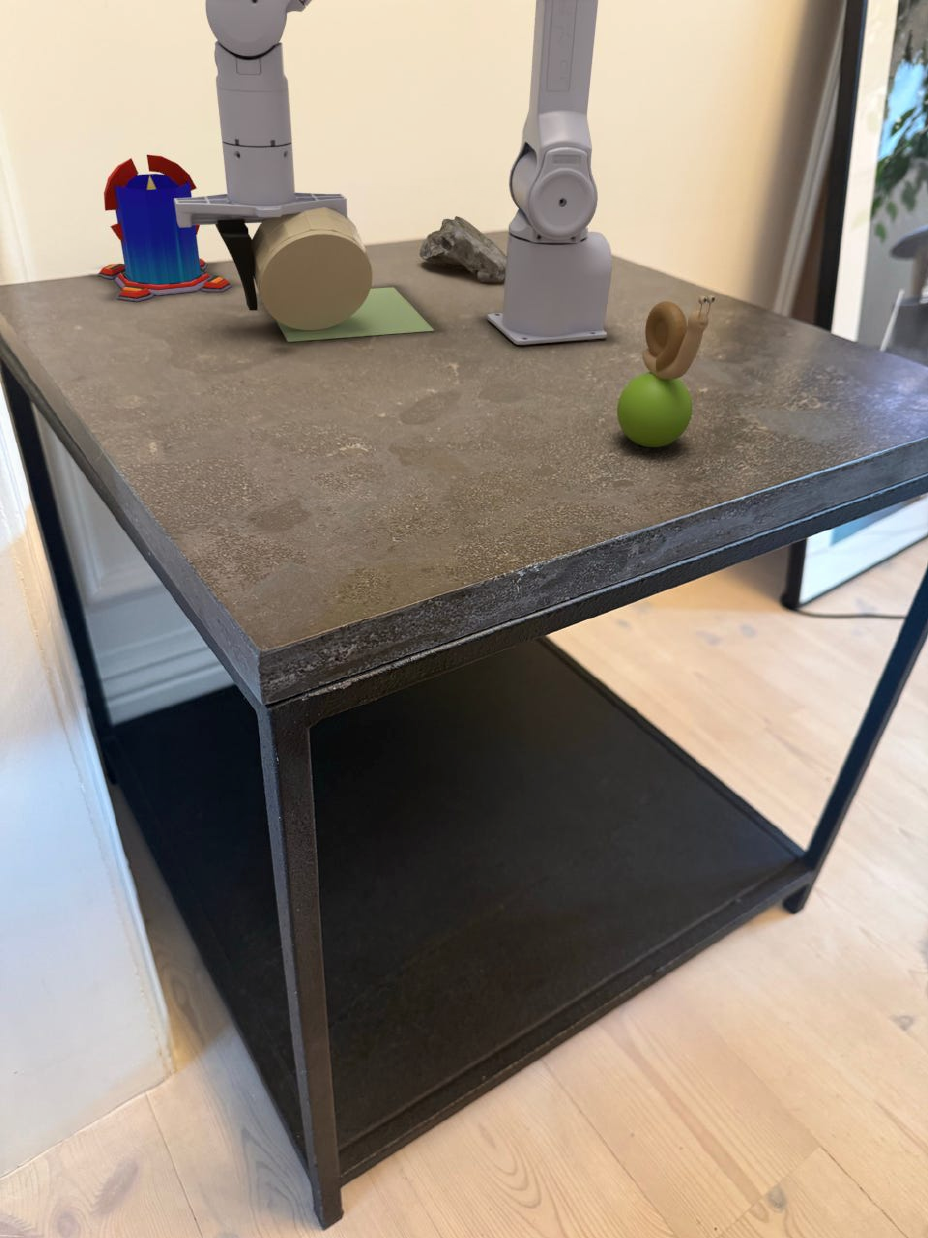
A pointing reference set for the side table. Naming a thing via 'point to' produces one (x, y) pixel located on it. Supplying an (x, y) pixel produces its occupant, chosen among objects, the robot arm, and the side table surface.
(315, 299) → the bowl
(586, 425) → the side table surface
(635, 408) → the snail figurine
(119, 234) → the fantasy tower
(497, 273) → the grey rock
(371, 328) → the mat
